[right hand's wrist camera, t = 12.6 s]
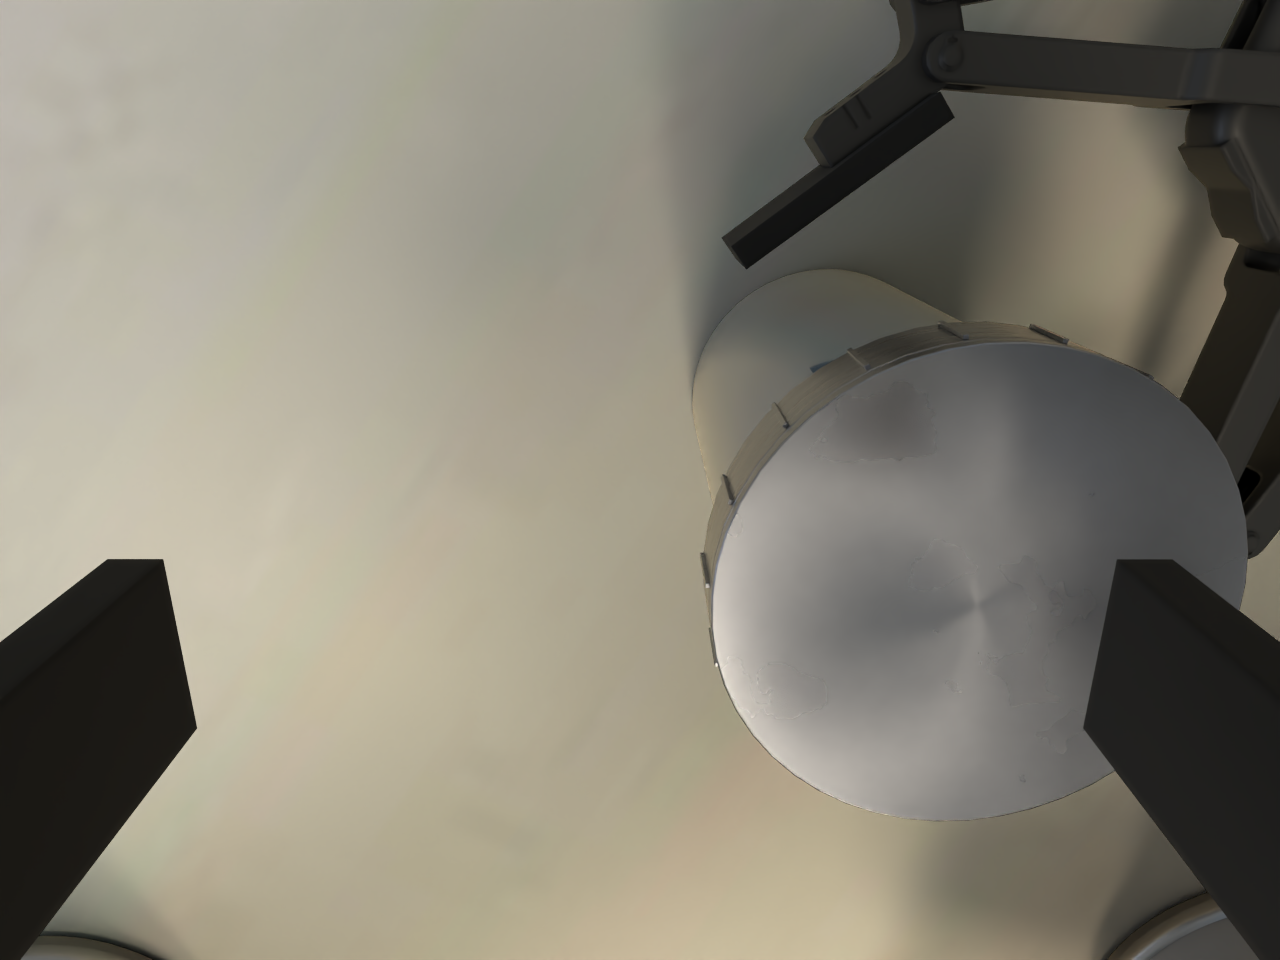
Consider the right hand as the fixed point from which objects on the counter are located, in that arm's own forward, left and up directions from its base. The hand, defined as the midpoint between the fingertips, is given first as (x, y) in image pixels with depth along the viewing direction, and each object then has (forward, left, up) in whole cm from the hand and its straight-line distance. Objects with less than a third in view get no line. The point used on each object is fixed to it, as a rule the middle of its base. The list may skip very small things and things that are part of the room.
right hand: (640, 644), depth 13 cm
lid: (-3, -7, -6) cm, 9 cm away
